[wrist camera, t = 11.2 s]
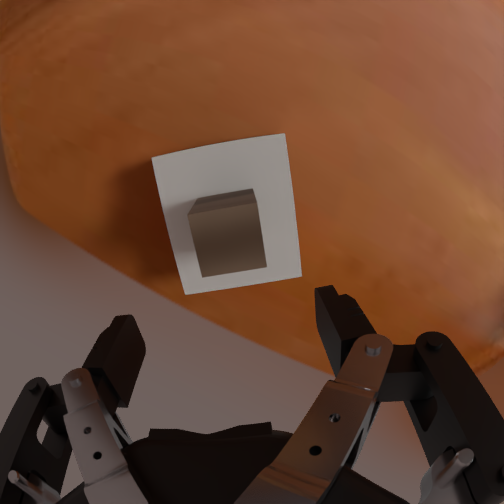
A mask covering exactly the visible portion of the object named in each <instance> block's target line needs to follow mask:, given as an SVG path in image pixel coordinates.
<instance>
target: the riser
mask: <svg viewBox="0 0 504 504" xmlns="http://www.w3.org/2000/svg"><path fill="white" fill-rule="evenodd" d="M152 163H153V168H154V172H155V177H156V182H157V187H158V191H159V196H160V200H161V204H162V209H163V213H164V217H165V221H166V225H167V229H168V233H169V237H170V241H171V245H172V249H173V253H174V256H175V260H176V264H177V267H178V271H179V274H180V278H181V281H182V285H183V288H184V292H185V295H187V294H194V293H201V292H208V291H215V290H221V289H228V288H234V287H241V286H247V285H253V284H259V283H266V282H272V281H278V280H284V279H289V278H295V277H301V276H302V272H301V262H300V252H299V242H298V232H297V223H296V214H295V206H294V198H293V190H292V182H291V174H290V167H289V159H288V152H287V145H286V138H285V133H284V134H275V135H267V136H260V137H253V138H247V139H240V140H234V141H228V142H223V143H217V144H212V145H207V146H202V147H197V148H192V149H187V150H182V151H178V152H174V153H169V154H165V155H161V156H157V157H153V158H152ZM252 188H253V191H254V194H255V197H256V200H257V205H258V211H259V218H260V224H261V230H262V237H263V243H264V250H265V257H266V263H267V267H266V268H260V269H253V270H247V271H241V272H235V273H229V274H222V275H216V276H210V277H203V278H202V275H201V271H200V267H199V263H198V259H197V255H196V251H195V247H194V243H193V238H192V234H191V230H190V225H189V221H188V217H187V214H188V213H189V211H190V210H191V208H192V206H193V205H194V203H195V202H196V200H197V199H198V198H201V197H206V196H211V195H217V194H223V193H228V192H234V191H240V190H246V189H252Z"/></svg>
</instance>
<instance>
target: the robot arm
mask: <svg viewBox="0 0 504 504" xmlns="http://www.w3.org/2000/svg"><path fill="white" fill-rule="evenodd" d="M315 309H316V323H317V328H318V332H319V335H320V337H321V340H322V342H323V345H324V348H325V350H326V353H327V356H328V358H329V361H330V364H331V366H332V369H333V372H334V374H335V377H336V378H335V380H334V381H333V380H329V381H327V383H326V384H325V385H324V387H323V389H322V390H321V392H320V394H319V395H318V397H317V398H316V400H315V402H314V403H313V405H312V407H311V408H310V410H309V411H308V413H307V414H306V416H305V417H304V419H303V420H302V422H301V424H300V425H299V426H298V428H297V430H296V431H295V432H294V434H292V433H289V432H284V431H277V430H272V425H271V422H265V423H258V424H249V425H239V426H236V427H233V428H229V429H226V430H223V431H219V432H215V433H211V434H200V433H195V432H190V431H185V430H180V429H150V432H149V436H148V437H147V438H143V439H140V440H138V441H135V442H133V441H132V440H131V438H130V436H129V434H128V432H127V431H126V429H125V427H124V425H123V423H122V421H121V419H120V417H119V416H118V414H117V413H116V409H117V407H124V408H127V407H128V405H129V401H130V398H131V395H132V392H133V389H134V386H135V383H136V380H137V377H138V374H139V371H140V368H141V365H142V362H143V360H144V356H145V353H146V347H145V342H144V340H143V338H142V335H141V333H140V331H139V328H138V326H137V323H136V321H135V319H134V317H133V316H132V315H120V316H115V318H114V319H113V321H112V323H111V325H110V326H109V327H108V328H107V329H105V330H104V331H103V332H102V333H101V334H100V335H99V337H98V339H97V341H96V343H95V344H94V346H93V349H92V350H91V352H90V353H89V355H88V357H87V359H86V360H85V362H84V364H83V366H82V368H77V369H74V370H72V371H70V372H68V373H67V374H66V375H65V376H64V378H63V379H62V383H61V384H56V385H52V386H49V384H48V383H47V381H46V380H45V379H44V378H42V377H37V378H34V379H32V380H30V381H29V382H28V383H27V384H26V385H25V386H24V388H23V390H22V392H21V394H20V395H19V397H18V399H17V401H16V403H15V405H14V407H13V408H12V410H11V412H10V414H9V416H8V418H7V420H6V422H5V425H4V427H3V429H2V431H1V433H0V504H410V503H408V502H407V501H406V500H404V499H402V498H400V497H399V496H397V495H395V494H393V493H391V492H389V491H387V490H386V489H384V488H382V487H380V486H379V485H377V484H375V483H373V482H372V481H370V480H368V479H366V478H365V477H363V476H361V475H360V474H358V473H357V472H355V471H353V470H352V469H353V467H354V465H355V463H356V461H357V459H358V457H359V454H360V452H361V450H362V447H363V445H364V442H365V440H366V437H367V435H368V433H369V430H370V428H371V426H372V423H373V421H374V419H375V416H376V414H377V412H378V409H379V407H380V403H381V402H391V401H404V403H405V406H406V408H407V410H408V413H409V415H410V417H411V420H412V422H413V425H414V427H415V429H416V432H417V434H418V437H419V439H420V442H421V444H422V447H423V450H424V452H425V455H426V457H427V460H428V463H429V465H430V468H429V470H428V471H427V472H426V473H425V475H424V476H423V478H422V480H421V485H420V490H421V498H420V501H419V503H418V504H499V503H501V502H503V501H504V419H503V418H502V416H501V414H500V413H499V411H498V409H497V408H496V406H495V404H494V403H493V401H492V400H491V398H490V396H489V395H488V393H487V392H486V390H485V389H484V387H483V386H482V384H481V383H480V381H479V380H478V378H477V377H476V375H475V374H474V372H473V371H472V369H471V368H470V366H469V365H468V364H467V362H466V361H465V359H464V358H463V357H462V355H461V354H460V352H459V351H458V350H457V348H456V347H455V346H454V344H453V343H452V341H451V340H450V339H449V338H448V337H447V336H446V335H444V334H442V333H439V332H425V333H423V334H421V335H420V336H419V337H418V338H417V339H416V343H415V344H413V345H394V344H392V342H391V341H390V339H388V338H387V337H385V336H383V335H380V334H377V333H376V331H375V330H374V328H373V327H372V325H371V324H370V322H369V320H368V319H367V317H366V316H365V314H364V313H363V311H362V309H361V308H360V306H359V305H358V303H357V302H356V300H355V299H354V298H352V297H350V296H349V295H347V294H343V295H338V293H337V292H336V290H335V288H334V287H333V285H329V286H323V287H318V288H315ZM42 419H43V421H44V422H45V423H46V424H47V425H48V426H49V427H48V430H47V432H46V435H45V437H44V440H43V442H42V445H41V444H40V443H39V441H38V439H37V429H38V427H39V425H40V423H41V420H42ZM72 449H73V452H74V455H75V458H76V460H77V463H78V466H79V469H80V471H81V474H82V477H83V479H84V482H82V483H81V484H80V485H79V486H77V487H76V488H75V489H73V490H72V491H71V492H70V493H68V494H67V495H66V496H64V497H63V498H62V499H61V498H60V493H61V489H62V485H63V481H64V477H65V474H66V470H67V466H68V463H69V459H70V456H71V452H72Z"/></svg>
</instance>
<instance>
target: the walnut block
mask: <svg viewBox="0 0 504 504" xmlns="http://www.w3.org/2000/svg"><path fill="white" fill-rule="evenodd" d="M187 217H188V221H189V225H190V230H191V234H192V238H193V243H194V247H195V251H196V255H197V259H198V263H199V267H200V271H201V275H202V278H203V277H210V276H216V275H222V274H229V273H235V272H241V271H247V270H253V269H260V268H266V267H267V263H266V257H265V250H264V243H263V237H262V230H261V224H260V218H259V211H258V205H257V200H256V197H255V194H254V191H253V188H252V189H246V190H240V191H234V192H228V193H223V194H217V195H211V196H206V197H201V198H198V199H197V200H196V202H195V203H194V205H193V206H192V208H191V210H190V211H189V213H188V214H187Z"/></svg>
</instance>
